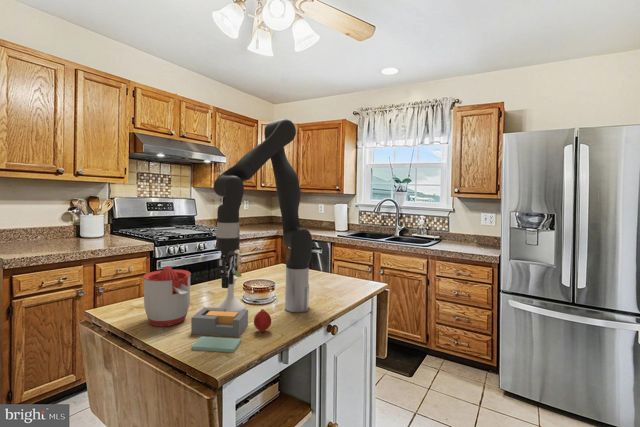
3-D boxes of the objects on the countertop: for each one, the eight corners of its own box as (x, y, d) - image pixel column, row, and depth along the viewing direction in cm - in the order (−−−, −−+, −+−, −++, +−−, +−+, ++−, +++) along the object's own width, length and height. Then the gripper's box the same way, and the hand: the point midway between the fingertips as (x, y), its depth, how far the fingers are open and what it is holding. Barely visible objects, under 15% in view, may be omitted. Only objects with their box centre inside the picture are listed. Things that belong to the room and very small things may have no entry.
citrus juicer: (163, 334, 110) (163, 274, 109) (133, 322, 119) (133, 266, 118) (203, 320, 123) (203, 265, 122) (173, 310, 133) (173, 259, 131)
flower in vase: (210, 311, 132) (210, 248, 131) (237, 305, 140) (238, 245, 138) (224, 321, 122) (225, 253, 121) (252, 315, 130) (253, 250, 128)
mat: (241, 342, 107) (241, 338, 106) (234, 352, 100) (234, 349, 100) (201, 339, 108) (201, 336, 108) (191, 349, 101) (191, 346, 101)
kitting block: (247, 324, 120) (248, 309, 120) (238, 336, 110) (239, 320, 110) (204, 322, 121) (204, 307, 121) (191, 333, 111) (191, 317, 111)
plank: (238, 319, 117) (238, 312, 117) (234, 323, 113) (234, 316, 113) (210, 317, 118) (210, 310, 118) (205, 322, 114) (205, 314, 114)
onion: (254, 328, 117) (255, 305, 117) (271, 328, 118) (271, 305, 117) (252, 335, 111) (253, 311, 111) (270, 335, 112) (270, 311, 111)
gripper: (231, 239, 106) (231, 292, 107) (245, 233, 120) (244, 281, 121) (208, 238, 107) (208, 291, 108) (224, 232, 121) (224, 280, 122)
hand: (227, 285), depth 115 cm, fingers open, 4 cm apart
